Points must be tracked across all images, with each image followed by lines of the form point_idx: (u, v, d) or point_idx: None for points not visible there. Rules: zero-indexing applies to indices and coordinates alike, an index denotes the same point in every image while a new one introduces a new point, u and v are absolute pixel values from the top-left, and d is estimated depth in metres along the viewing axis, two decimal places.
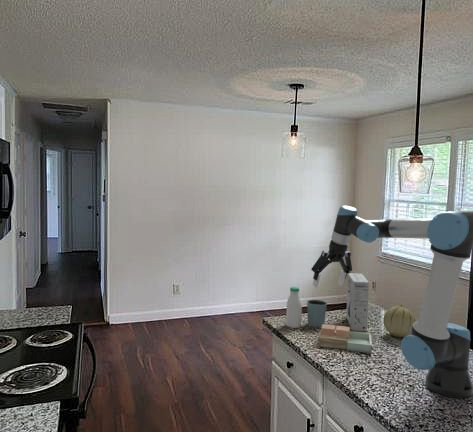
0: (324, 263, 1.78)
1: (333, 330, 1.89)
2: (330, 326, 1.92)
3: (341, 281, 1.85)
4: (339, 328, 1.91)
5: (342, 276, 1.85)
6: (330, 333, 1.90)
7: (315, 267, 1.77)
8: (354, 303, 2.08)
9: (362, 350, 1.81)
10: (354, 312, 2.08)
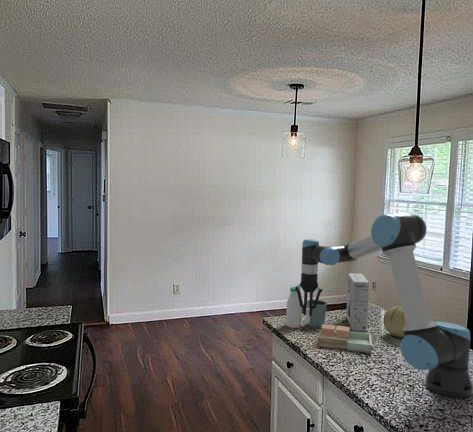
0: (304, 297, 1.95)
1: (333, 330, 1.89)
2: (330, 326, 1.92)
3: None
4: (339, 328, 1.91)
5: None
6: (330, 333, 1.90)
7: None
8: (354, 303, 2.08)
9: (362, 350, 1.81)
10: (354, 312, 2.08)
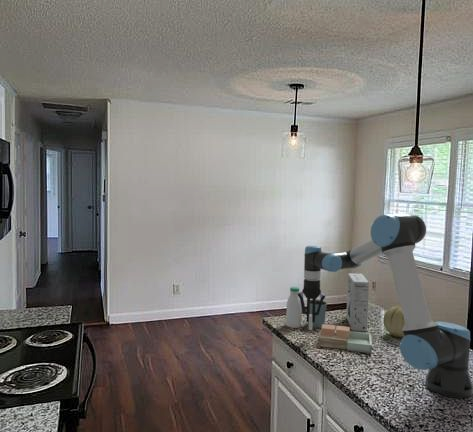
0: (307, 303, 1.94)
1: (333, 330, 1.89)
2: (330, 326, 1.92)
3: None
4: (339, 328, 1.91)
5: None
6: (330, 333, 1.90)
7: (302, 309, 1.95)
8: (354, 303, 2.08)
9: (362, 350, 1.81)
10: (354, 312, 2.08)
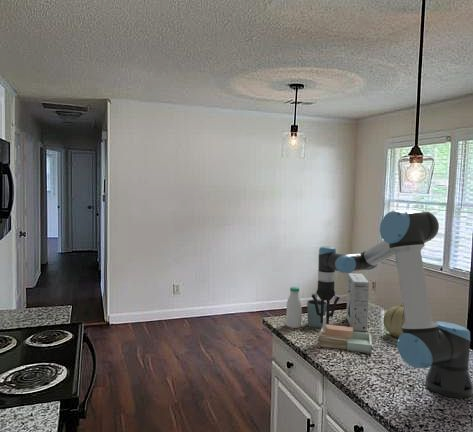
0: (321, 305, 1.93)
1: (337, 331, 1.89)
2: (334, 327, 1.92)
3: None
4: (342, 328, 1.90)
5: None
6: (334, 334, 1.89)
7: (316, 310, 1.93)
8: (354, 303, 2.08)
9: (362, 350, 1.81)
10: (354, 312, 2.08)
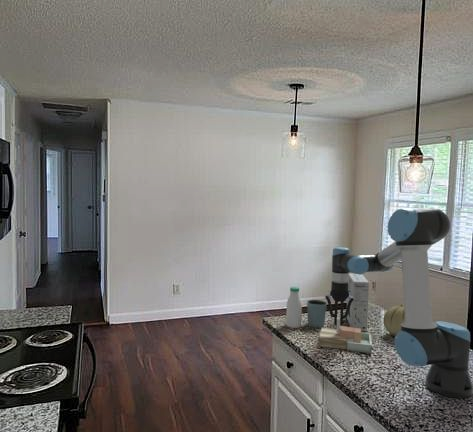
0: None
1: (352, 332, 1.87)
2: (348, 328, 1.90)
3: None
4: None
5: None
6: (349, 335, 1.87)
7: None
8: (354, 303, 2.08)
9: (362, 350, 1.81)
10: (354, 312, 2.08)
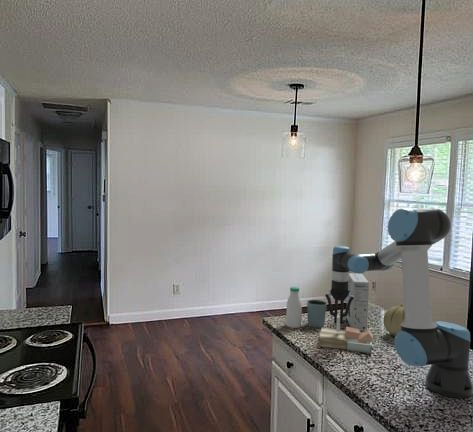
0: None
1: (358, 334, 1.86)
2: (354, 330, 1.90)
3: None
4: None
5: None
6: (354, 336, 1.87)
7: None
8: (354, 303, 2.08)
9: (362, 350, 1.81)
10: (354, 312, 2.08)
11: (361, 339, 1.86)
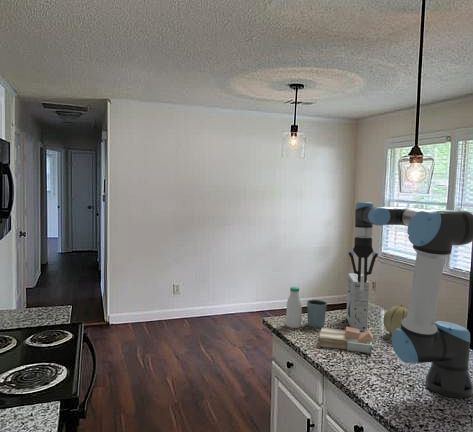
0: (358, 263, 1.85)
1: (357, 334, 1.86)
2: (354, 330, 1.90)
3: None
4: None
5: None
6: (354, 336, 1.87)
7: (353, 269, 1.86)
8: (354, 303, 2.08)
9: (362, 350, 1.81)
10: (354, 312, 2.08)
11: (361, 339, 1.86)
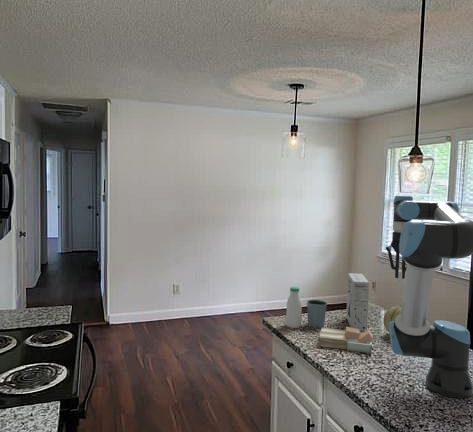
0: (396, 258, 1.80)
1: (357, 334, 1.86)
2: (354, 330, 1.90)
3: None
4: None
5: None
6: (354, 336, 1.87)
7: (390, 264, 1.80)
8: (354, 303, 2.08)
9: (362, 350, 1.81)
10: (354, 312, 2.08)
11: (361, 339, 1.86)
